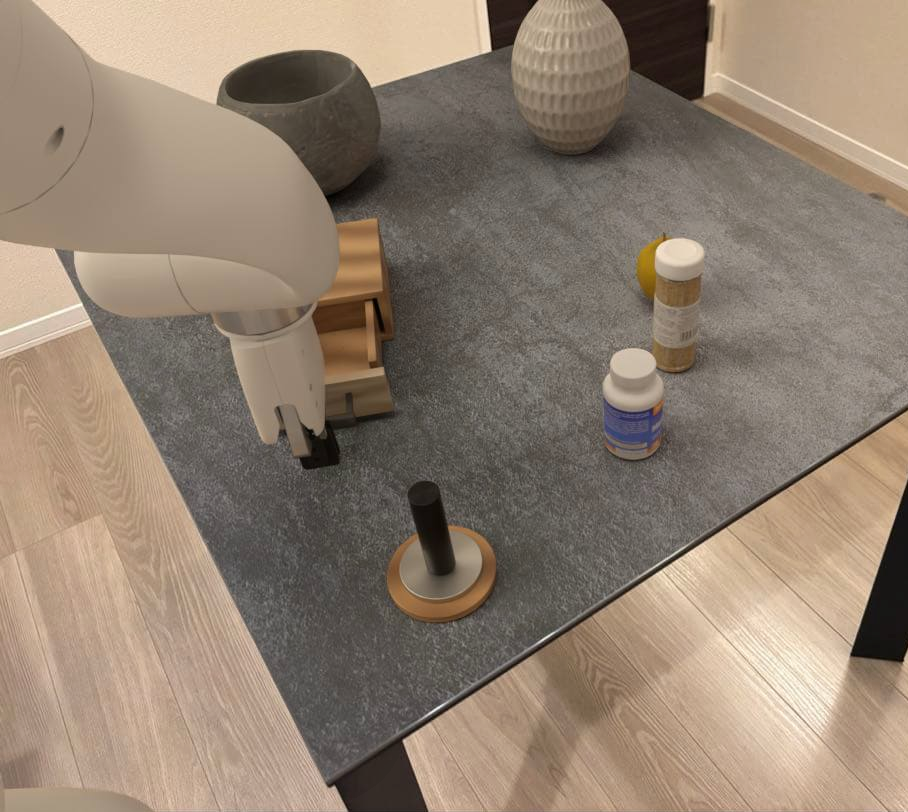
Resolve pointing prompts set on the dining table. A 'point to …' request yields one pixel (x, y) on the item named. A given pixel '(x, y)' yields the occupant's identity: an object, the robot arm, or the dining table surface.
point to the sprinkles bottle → (677, 303)
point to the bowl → (310, 110)
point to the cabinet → (362, 271)
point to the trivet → (448, 609)
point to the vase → (570, 73)
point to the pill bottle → (633, 405)
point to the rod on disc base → (437, 551)
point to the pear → (649, 267)
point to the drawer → (352, 362)
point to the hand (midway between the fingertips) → (322, 460)
